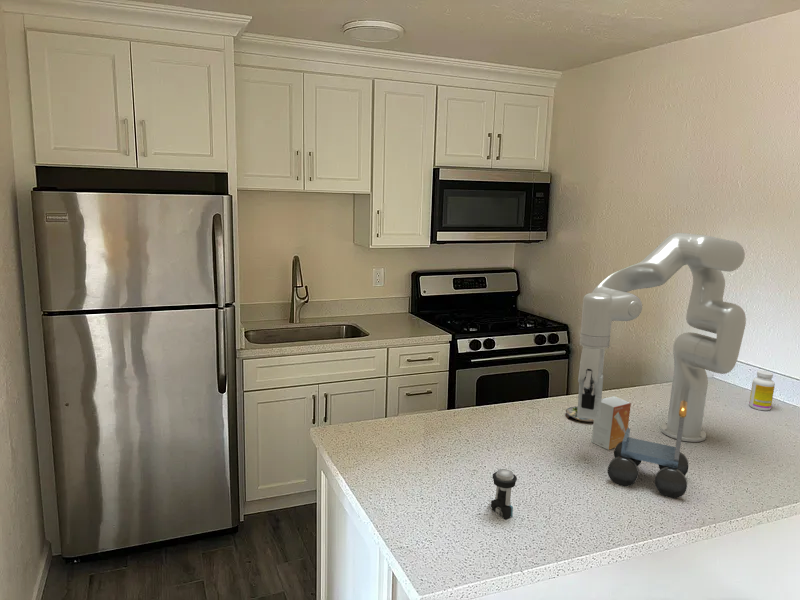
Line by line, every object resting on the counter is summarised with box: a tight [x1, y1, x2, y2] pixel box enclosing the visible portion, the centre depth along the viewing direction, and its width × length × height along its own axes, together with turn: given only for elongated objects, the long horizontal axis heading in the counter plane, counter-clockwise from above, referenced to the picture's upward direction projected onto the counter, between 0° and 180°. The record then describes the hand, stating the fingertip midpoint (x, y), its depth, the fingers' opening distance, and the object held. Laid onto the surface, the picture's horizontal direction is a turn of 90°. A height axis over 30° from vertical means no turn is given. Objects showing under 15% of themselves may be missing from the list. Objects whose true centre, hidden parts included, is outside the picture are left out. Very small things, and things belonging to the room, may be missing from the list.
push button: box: [487, 468, 518, 521], centre depth 133 cm, size 7×5×10 cm
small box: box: [591, 395, 632, 451], centre depth 172 cm, size 8×6×13 cm
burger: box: [564, 405, 594, 423], centre depth 192 cm, size 12×12×8 cm
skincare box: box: [577, 372, 604, 420], centre depth 160 cm, size 6×4×12 cm
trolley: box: [607, 401, 689, 499], centre depth 150 cm, size 13×18×21 cm
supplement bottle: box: [748, 370, 775, 412], centre depth 207 cm, size 7×7×13 cm
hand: (589, 404), depth 161 cm, fingers closed on skincare box, 4 cm apart
